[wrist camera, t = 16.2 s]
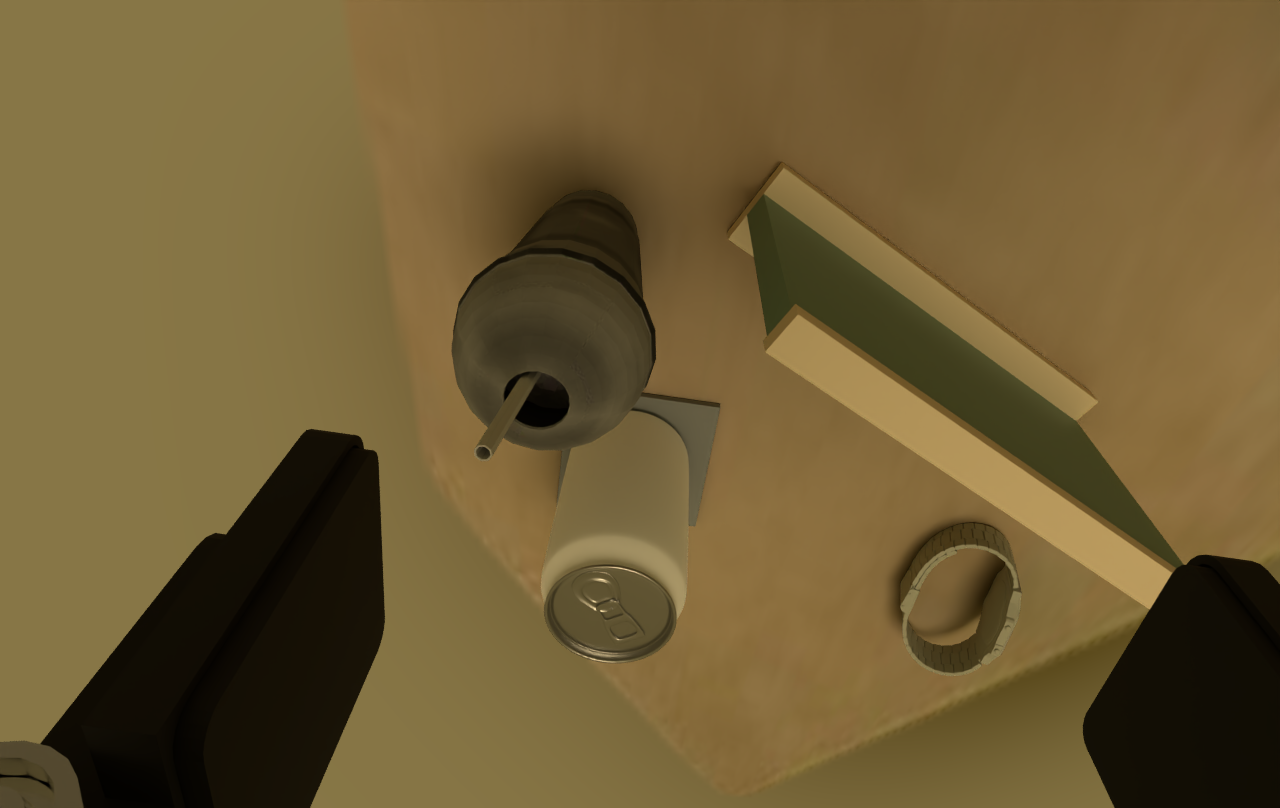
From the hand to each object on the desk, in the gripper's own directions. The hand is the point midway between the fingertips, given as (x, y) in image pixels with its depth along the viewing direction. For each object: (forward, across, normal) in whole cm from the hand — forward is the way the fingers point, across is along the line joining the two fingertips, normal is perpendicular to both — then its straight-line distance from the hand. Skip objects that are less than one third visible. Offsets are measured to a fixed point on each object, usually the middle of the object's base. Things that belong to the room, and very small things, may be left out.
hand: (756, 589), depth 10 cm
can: (+30, +1, +19) cm, 36 cm away
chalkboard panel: (+30, -12, +8) cm, 34 cm away
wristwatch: (+31, -18, +25) cm, 43 cm away
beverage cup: (+31, +5, +7) cm, 32 cm away
